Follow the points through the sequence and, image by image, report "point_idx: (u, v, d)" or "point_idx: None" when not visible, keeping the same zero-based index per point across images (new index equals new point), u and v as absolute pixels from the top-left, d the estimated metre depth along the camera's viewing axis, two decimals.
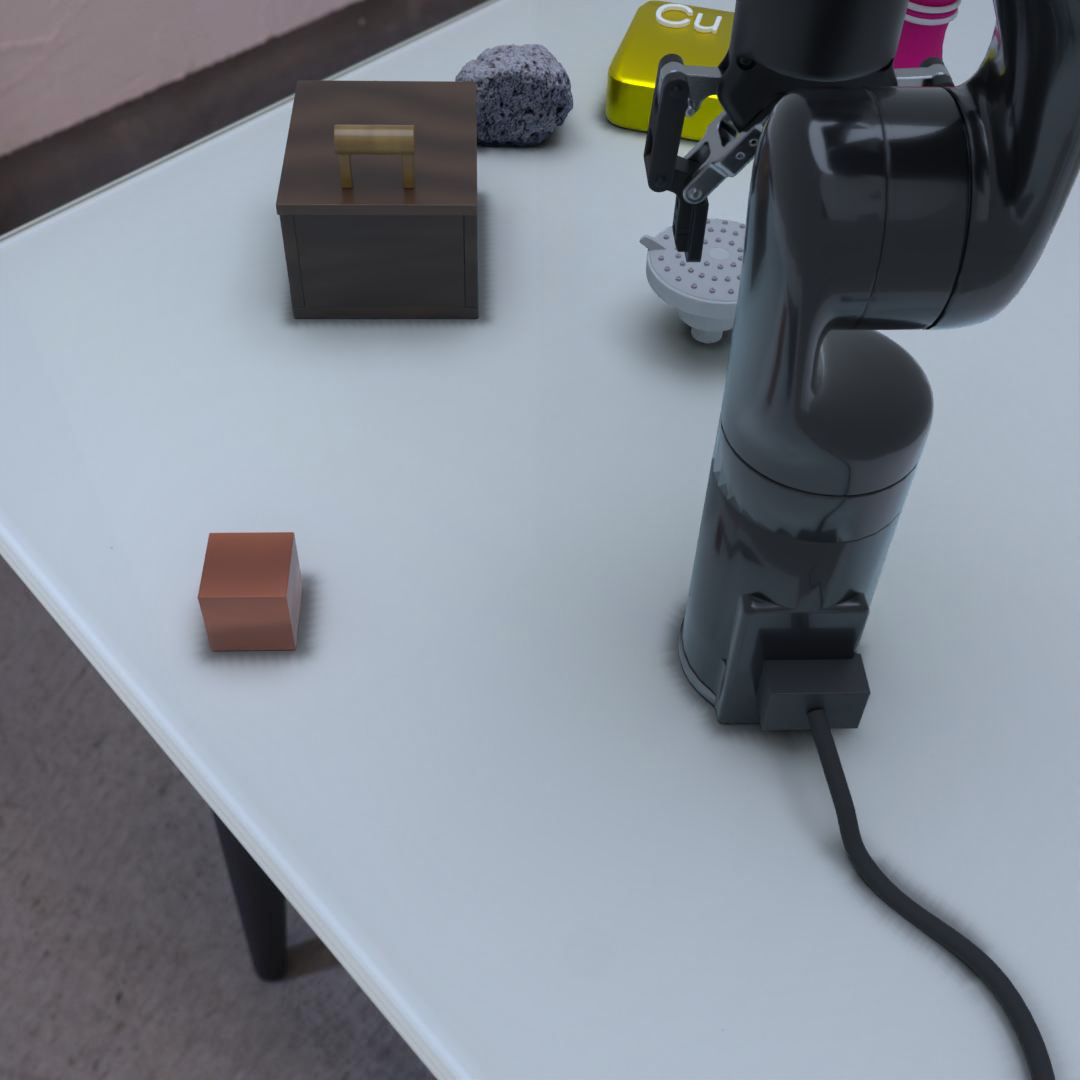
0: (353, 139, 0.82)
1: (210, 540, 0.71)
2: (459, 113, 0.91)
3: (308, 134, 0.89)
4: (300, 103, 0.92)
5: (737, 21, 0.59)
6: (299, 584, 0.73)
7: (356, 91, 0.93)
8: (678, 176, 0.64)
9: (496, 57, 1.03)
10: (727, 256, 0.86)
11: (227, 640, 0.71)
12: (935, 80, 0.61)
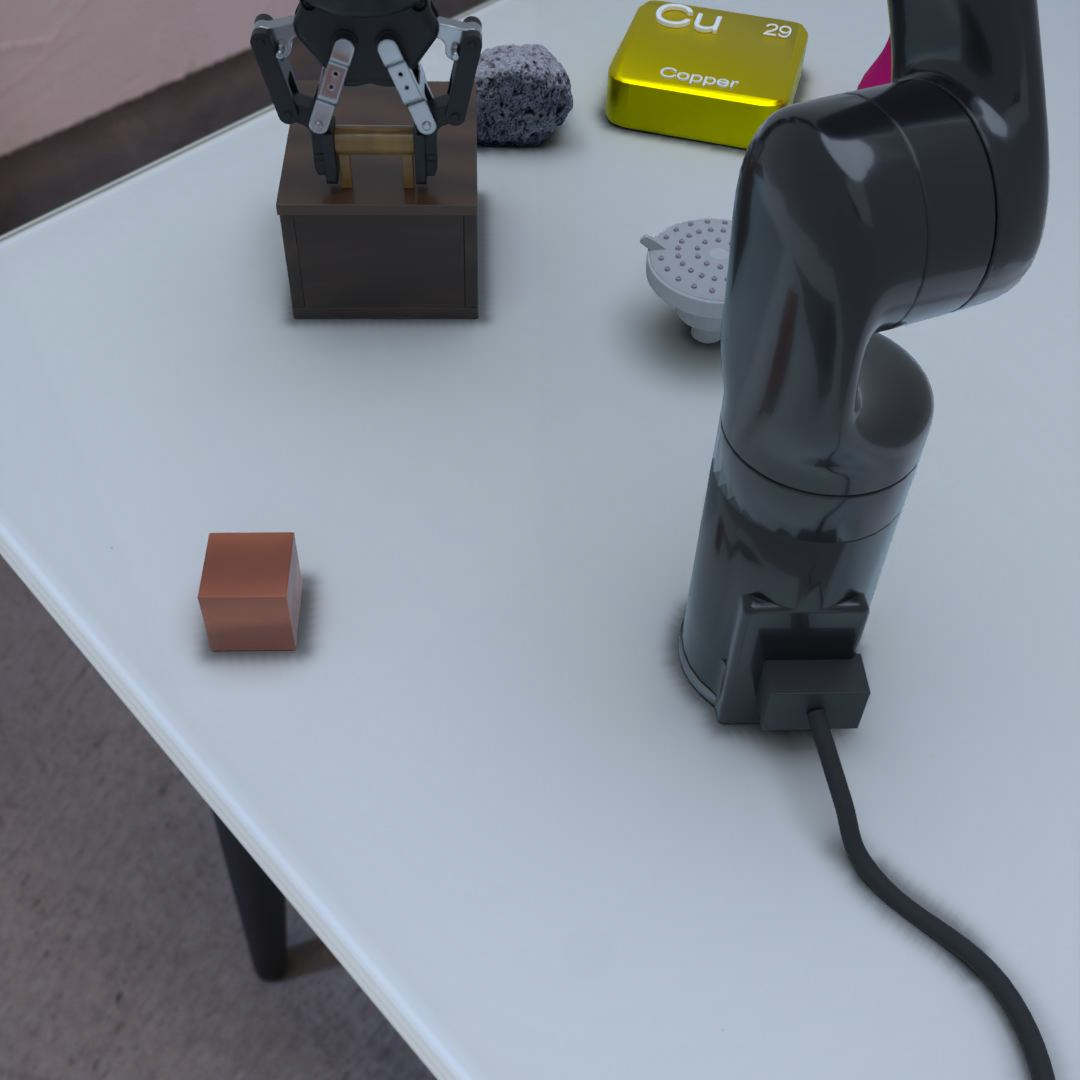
0: (353, 139, 0.82)
1: (210, 540, 0.71)
2: None
3: (308, 134, 0.89)
4: None
5: None
6: (299, 584, 0.73)
7: (356, 91, 0.93)
8: (304, 111, 0.80)
9: (496, 57, 1.03)
10: (727, 256, 0.86)
11: (227, 640, 0.71)
12: (467, 32, 0.77)
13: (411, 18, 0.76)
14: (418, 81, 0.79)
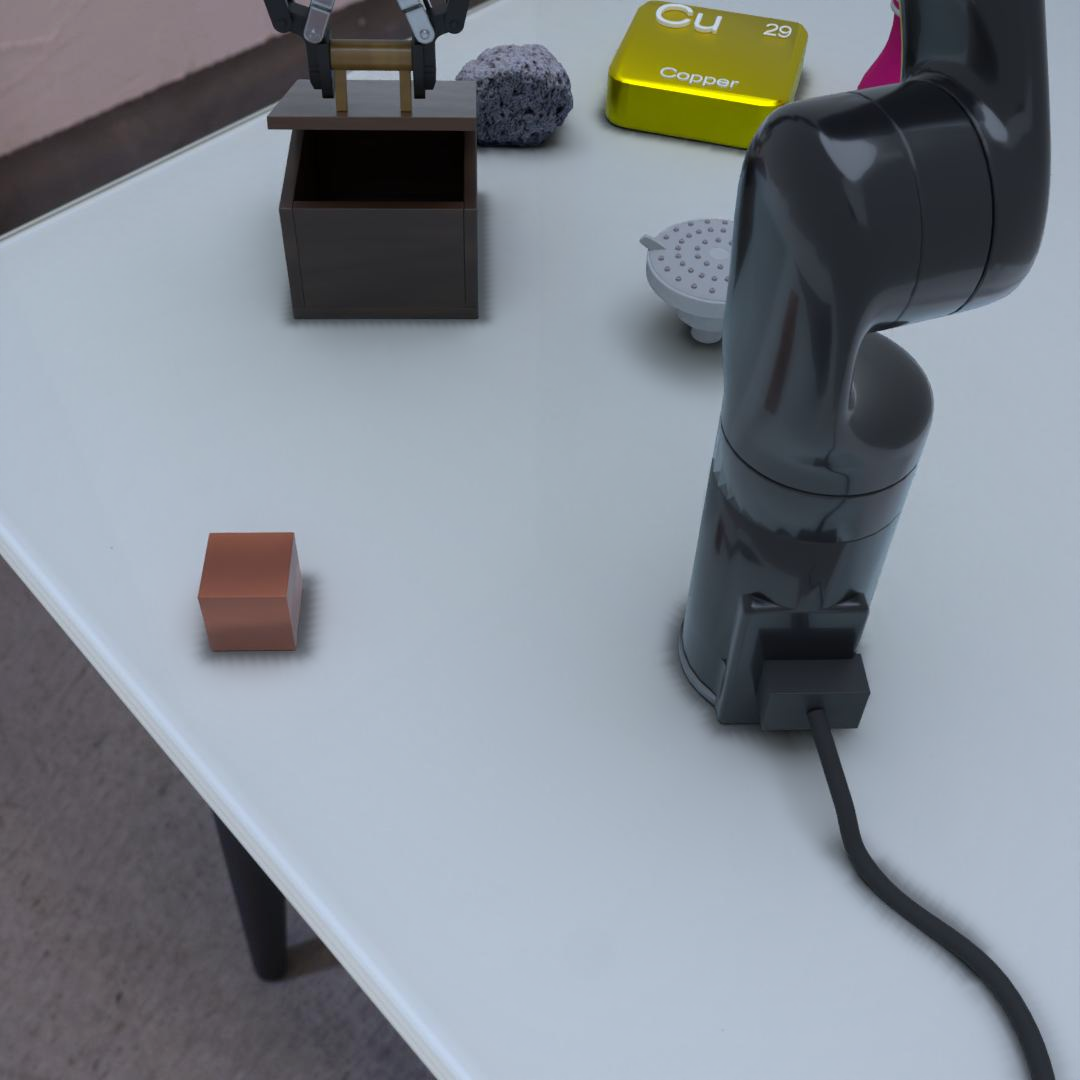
0: (349, 48, 0.80)
1: (210, 540, 0.71)
2: (459, 89, 0.90)
3: (305, 95, 0.87)
4: (299, 86, 0.91)
5: None
6: (299, 584, 0.73)
7: (355, 82, 0.93)
8: (299, 19, 0.78)
9: (496, 57, 1.03)
10: (727, 256, 0.86)
11: (227, 640, 0.71)
12: None
13: None
14: None
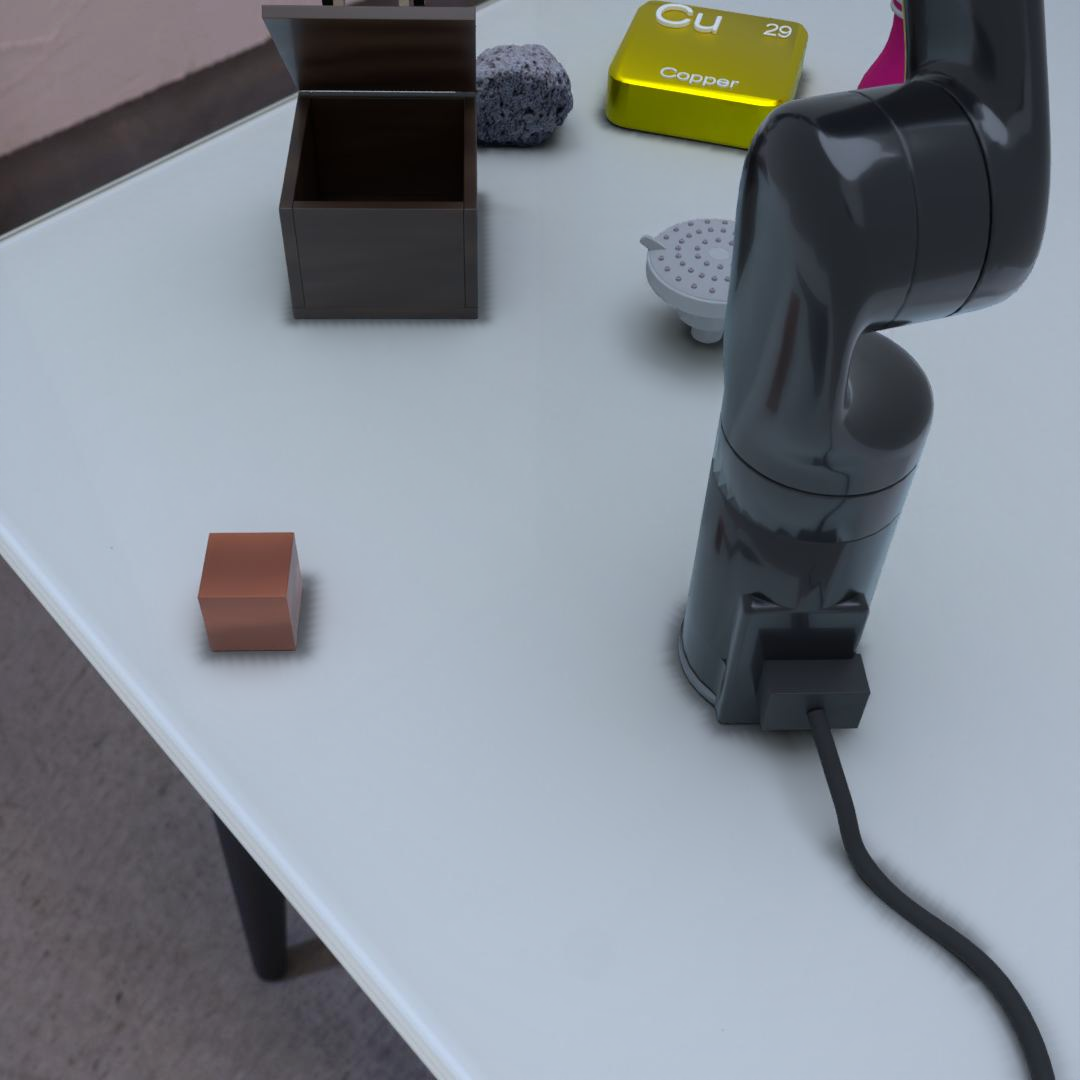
0: None
1: (210, 540, 0.71)
2: None
3: None
4: None
5: None
6: (299, 584, 0.73)
7: None
8: None
9: (496, 57, 1.03)
10: (727, 256, 0.86)
11: (227, 640, 0.71)
12: None
13: None
14: None
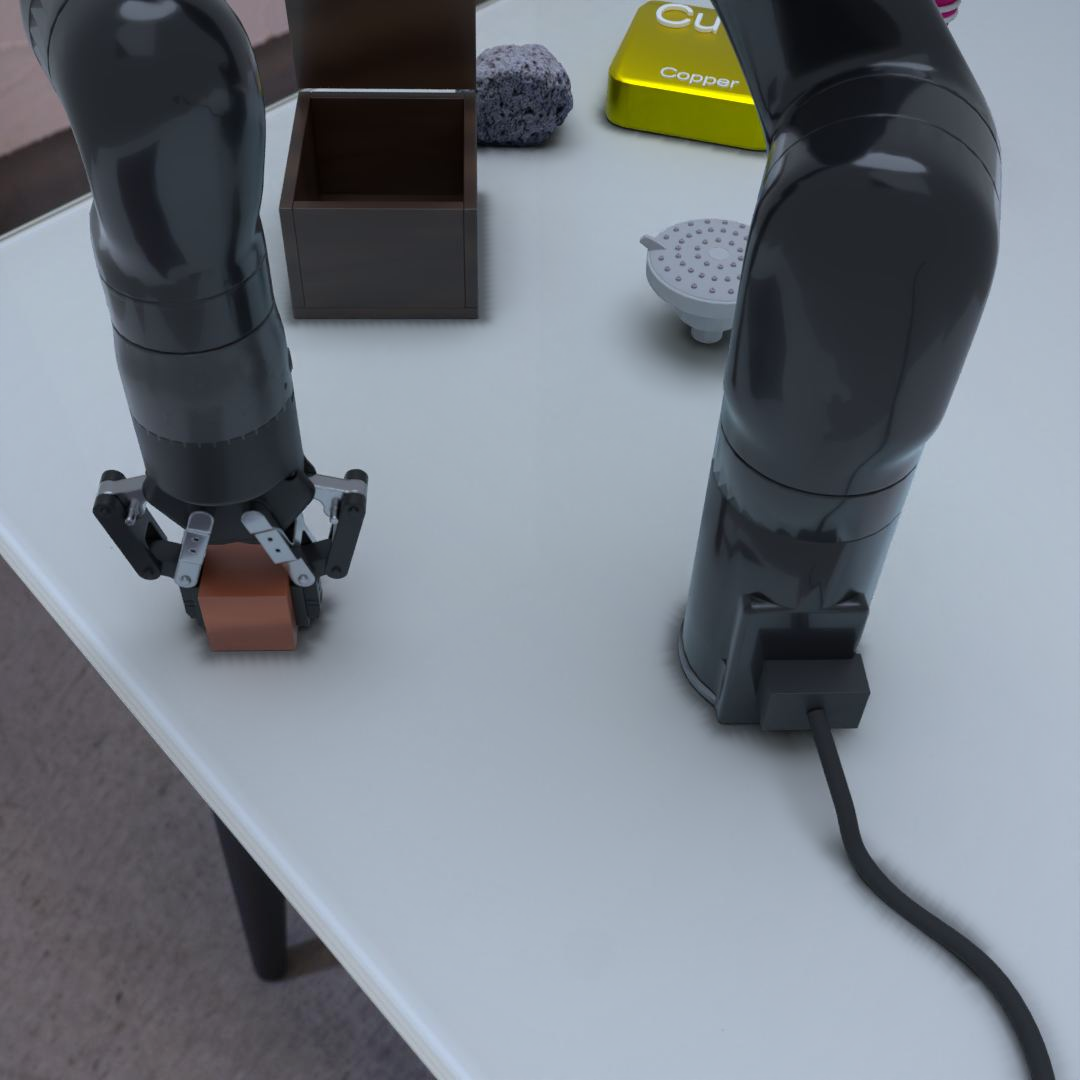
0: None
1: None
2: None
3: None
4: None
5: None
6: None
7: None
8: (168, 565, 0.69)
9: (496, 57, 1.03)
10: (727, 256, 0.86)
11: (227, 640, 0.71)
12: (348, 497, 0.65)
13: (280, 486, 0.64)
14: (293, 536, 0.68)
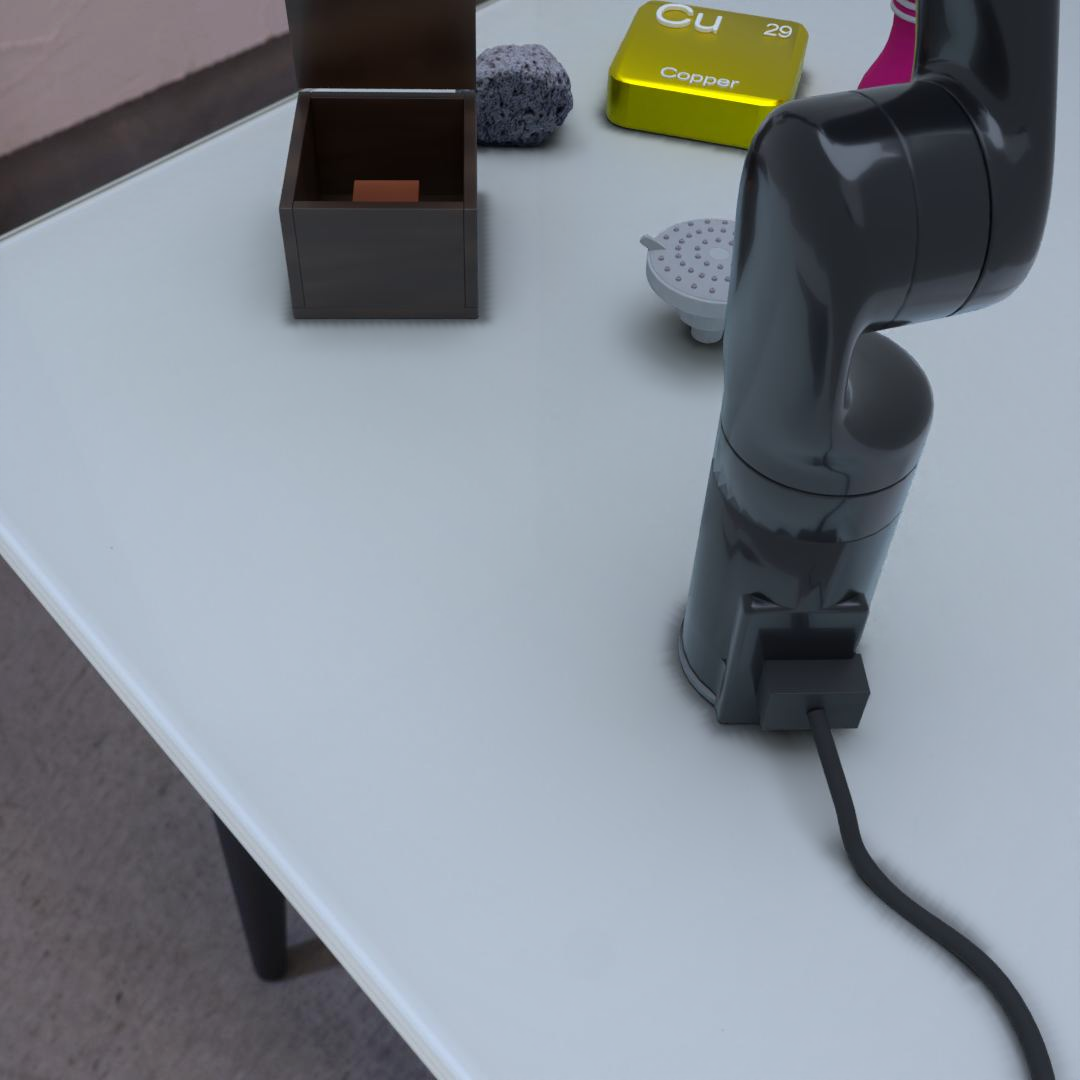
0: None
1: (356, 184, 0.93)
2: None
3: None
4: None
5: None
6: None
7: None
8: None
9: (496, 57, 1.03)
10: (727, 256, 0.86)
11: None
12: None
13: None
14: None
